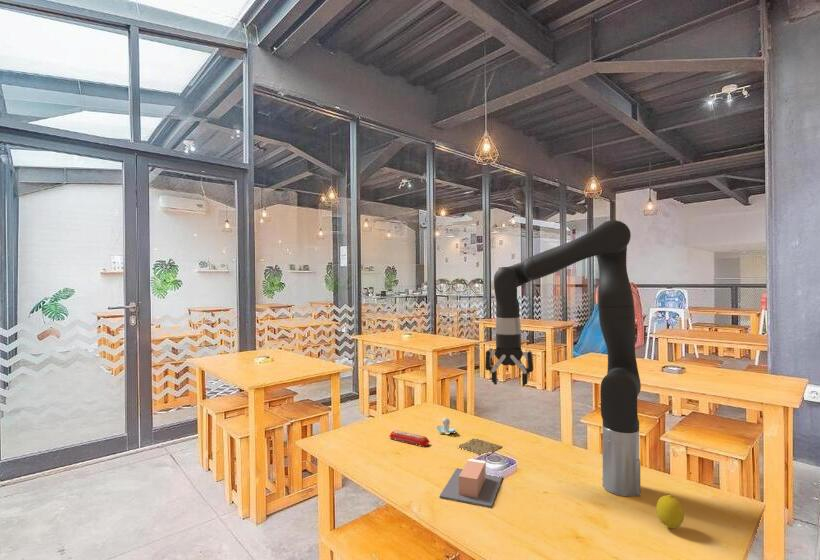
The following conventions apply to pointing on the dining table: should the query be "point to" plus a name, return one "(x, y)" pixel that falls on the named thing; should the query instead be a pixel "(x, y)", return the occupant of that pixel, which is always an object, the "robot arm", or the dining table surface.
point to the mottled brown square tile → (479, 446)
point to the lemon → (670, 511)
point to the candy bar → (409, 438)
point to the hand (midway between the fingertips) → (509, 384)
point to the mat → (483, 499)
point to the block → (472, 478)
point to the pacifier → (446, 427)
